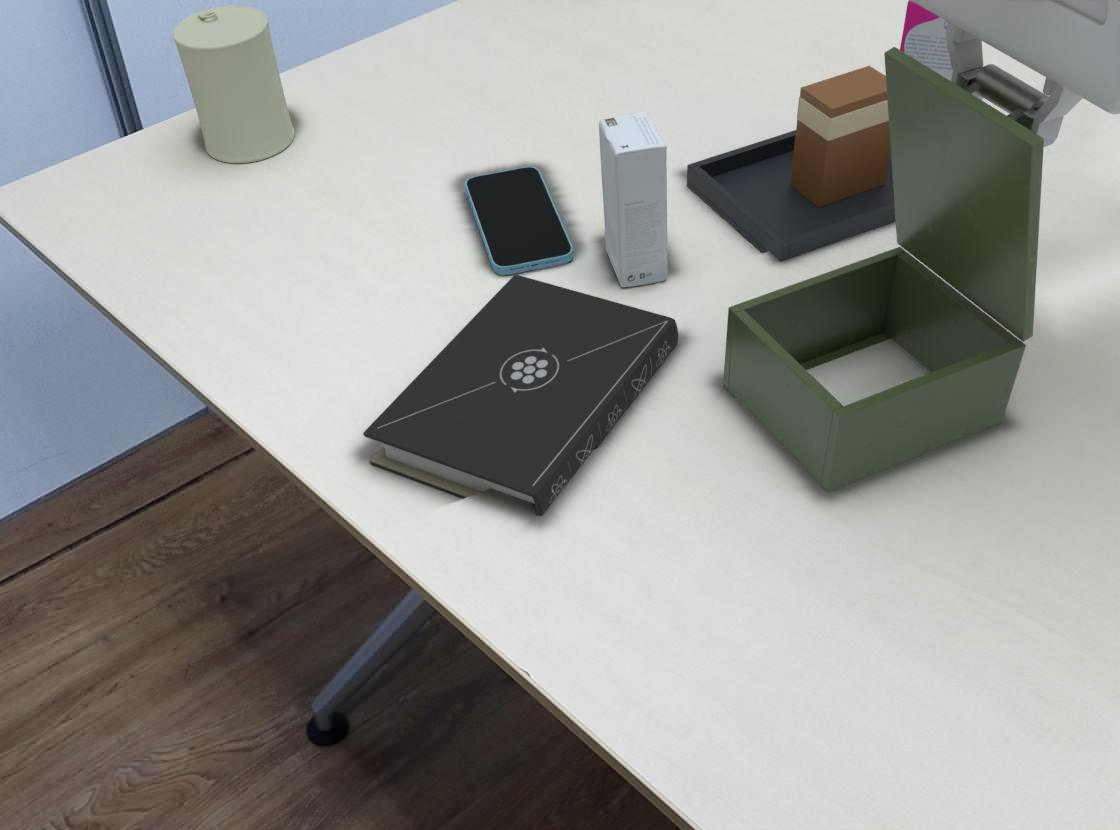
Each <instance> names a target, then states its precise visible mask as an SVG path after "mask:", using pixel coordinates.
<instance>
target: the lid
mask: <svg viewBox="0 0 1120 830" xmlns="http://www.w3.org/2000/svg"><path fill="white" fill-rule="evenodd" d="M883 54H884V69H885V76H886V86H887V101H888V116H889V131H890V146H891V161H892V176H893V191H894V206H895V221H896V222H895V233H896V244H897V245H898V246H899V247H901V248H902V249H904V250H905V251H906V252H907V253H909V254H910V255H911V256H913V257H914V258H915V259H916V260H918V261H919V262H920V263H921V264H923V265H924V266H925V267H927V268H928V269H929V270H930V271H932V272H933V273H934V274H936V275H937V276H938V277H939V278H941V279H942V280H943V281H944V282H946V283H947V284H948V285H950V286H951V287H952V288H953V289H955V290H956V291H957V292H958V293H960V294H961V295H962V296H964V297H965V298H966V299H967V300H969V301H970V302H971V303H973V304H974V305H975V306H976V307H978V308H979V309H980V310H981V311H983V312H984V313H985V314H987V315H988V316H989V317H990V318H992V319H993V320H994V321H996V322H997V323H998V324H999V325H1001V326H1002V327H1003V328H1004V329H1006V330H1007V331H1008V332H1010V333H1011V334H1012V335H1013V336H1015V337H1016V338H1017V339H1019V340H1020V341H1021V342H1023V343H1024V342H1025V341H1027V340H1029V339H1030V338H1032V337H1033V336H1034V322H1035V306H1036V305H1035V304H1036V289H1037V271H1038V269H1037V268H1038V255H1039V254H1038V251H1039V237H1040V236H1039V234H1040V217H1041V216H1040V215H1041V200H1042V199H1041V198H1042V183H1043V181H1042V179H1043V163H1044V148H1045V147H1044V139H1043V138H1042V137H1040V136H1039V135H1037V134H1036V133H1034V132H1032V131H1031V130H1029V129H1027V128H1026V127H1024V126H1023V125H1021V124H1020V122H1021V119H1022V115H1023V113H1024V112H1027V111H1030V110H1037V109H1038V108H1039V107H1042V105H1043V104H1044V103H1045V102H1046V101H1047V99H1048V98H1049V97H1050V95H1049V96H1047V95H1046V94H1044V93H1043V91H1040V90H1039V89H1037V88H1035V87H1033V86H1031V85H1030V84H1028V83H1026V82H1024V81H1023V80H1021V79H1020V78H1018V77H1016V76H1014V74H1011V73H1010V72H1008V71H1005V70H1004V69H1002V68H1001V67H999V66H998V65H996V64H992V63H990V64H985V65H983V68H981V69H980V70H979V72H978V73H977V74H976V76H975V78H974V80H973V83H972V84H970V85H969V86H967V87H965V88H964V89H962V88H961V87H959V86H957V85H956V84H954V83H953V82H951V81H949V80H948V79H946V78H944V77H943V76H941V75H940V74H938V73H936V72H935V71H933V70H931V69H930V68H928V67H927V66H925V65H923V64H922V63H920V62H918V61H917V60H915V59H914V58H912V57H910V56H909V55H907V54H905V53H904V52H902V51H901V50H900V48H897V47H896V46H893V47H891V48H890V49H888V50H887V51H884V53H883ZM980 96H982V97H983V99H985V100H987V101H988V102H989V103H991V104H993V105H995V106H996V107H998V108H1000V109H1001V110H1003V111H1004V112H1006V113H1007V114H1004V113H1003V112H1002V111H1000V110H998V109H997V108H995V107H993V106H991V105H990V104H989V103H987V102H985V101H984V100H983V99H982V100H980V99H979V98H978V97H980Z"/></svg>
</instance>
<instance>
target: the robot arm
mask: <svg viewBox="0 0 1120 830" xmlns="http://www.w3.org/2000/svg"><path fill="white" fill-rule="evenodd" d="M911 1H913V2H915V3H916V4H918V5H920V6H922V7H923V8H925V9H927V10H929V11H930V12H932V13H934V14H936V15H937V16H939V17H941V18H943V19H944V20H946V21H948V26H947V31H946V36H945V37H946V42H947V47H948V52H949V57H950V62H951V67H952V69H953V74H952V78H951V82H953V83H954V84H956V85H957V86H959V87H961V88H962V89H964V88H965V87H967V86H969V85H970V84H972V83H973V80H974V78H975V76H976V74H977V73H978V72H979V70H980V69H981V68H983V67H984V55H983V53H984V52H983V43H985V44H987V45H988V46H990V47H992V48H994V49H995V50H997V51H999V52H1001V53H1002V54H1004V55H1006V56H1008V57H1010V58H1011V59H1013V60H1015V61H1017V62H1018V63H1020V64H1021V65H1024V66H1025V67H1027V68H1029V69H1031V70H1032V71H1034V72H1035V73H1038V74H1040V75H1041V76H1043V77H1045V80H1044V84H1043V86H1042V87H1043V88H1042V93H1044V94H1045V95H1047V96H1049V98H1048V99H1047V101H1046V102H1045V103H1044V104H1043V105H1042V107H1039V108H1038V109H1037V110H1030V111H1027V112H1024V113H1023V115H1022V119H1021V122H1020V124H1021V125H1023V126H1024V127H1026V128H1027V129H1029V130H1031V131H1032V132H1034V133H1036V134H1037V135H1039V136H1040V137H1042V138H1043V139H1044V148H1046V147H1048V146H1051V145H1052V144H1054V142H1055V141H1056V140H1057V139H1058V137H1059V134H1060V130H1061V126H1062V124H1063V120H1064V116H1066V115H1067V114H1068V113H1070V112H1071V111H1072V110H1073V109H1074V108H1075V106H1076V105H1078V104H1079V103H1080V102H1081V101H1082V99H1083V100H1085V101H1087V102H1089V104H1093V105H1094V106H1096V107H1098V108H1099V109H1101V110H1103V111H1104V112H1106V113H1108V114H1111V115H1120V0H911ZM978 98H979V99H980V100H982V101H983V100H984V98H983V97H982V96H980V97H978Z"/></svg>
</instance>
